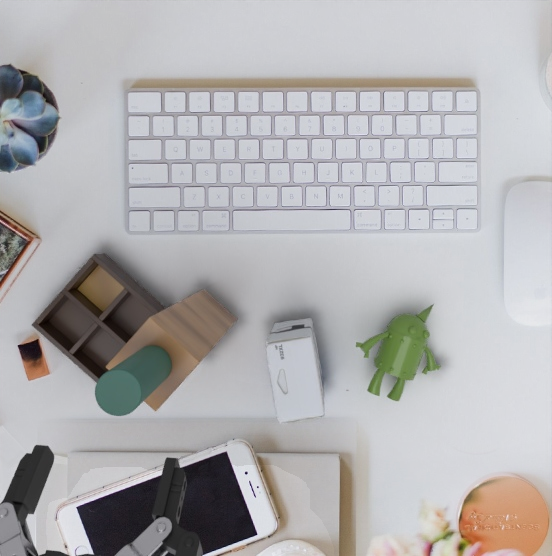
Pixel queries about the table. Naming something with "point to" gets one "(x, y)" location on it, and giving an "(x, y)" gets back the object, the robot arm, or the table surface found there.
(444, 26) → the table surface
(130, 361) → the green cylinder
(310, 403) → the ink box
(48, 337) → the grid
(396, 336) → the character figure
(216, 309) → the pillar
